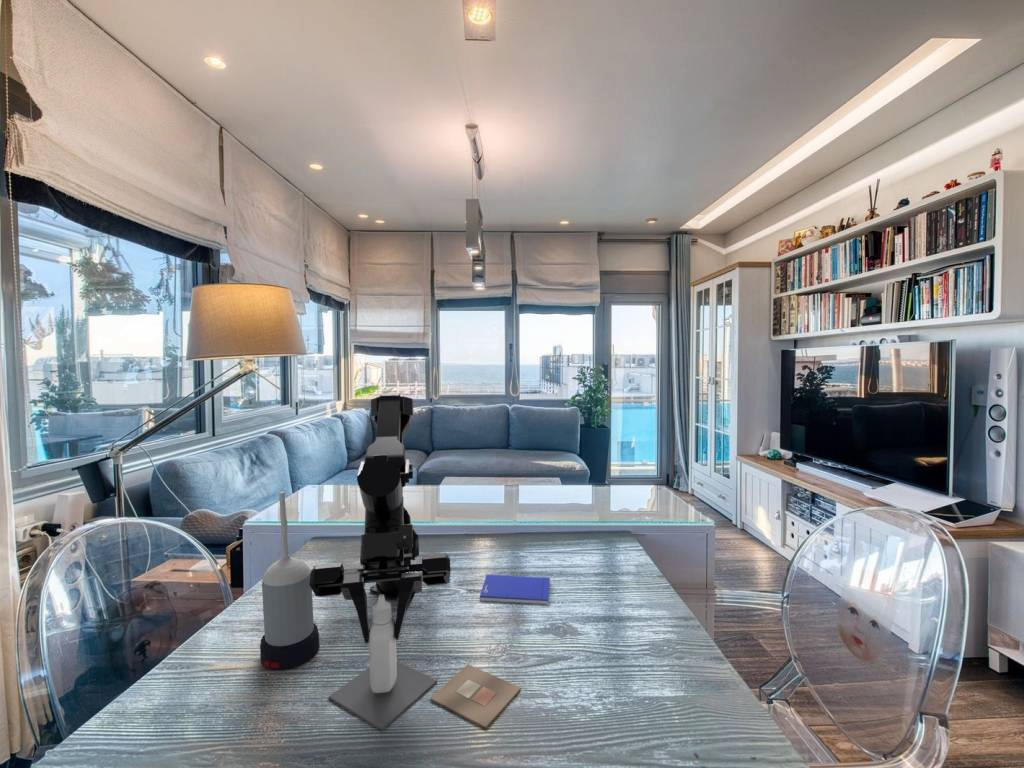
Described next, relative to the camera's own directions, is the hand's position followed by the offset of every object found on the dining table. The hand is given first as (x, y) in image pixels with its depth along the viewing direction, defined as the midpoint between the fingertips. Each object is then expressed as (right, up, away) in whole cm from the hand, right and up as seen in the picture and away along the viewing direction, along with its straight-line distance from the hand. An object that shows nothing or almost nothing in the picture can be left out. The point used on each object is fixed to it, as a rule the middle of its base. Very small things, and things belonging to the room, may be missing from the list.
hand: (381, 641), depth 65 cm
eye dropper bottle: (0, -6, +2) cm, 7 cm away
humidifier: (-16, -7, +10) cm, 20 cm away
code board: (+12, -8, +1) cm, 15 cm away
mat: (0, -8, +2) cm, 8 cm away
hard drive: (+18, -6, +28) cm, 34 cm away
